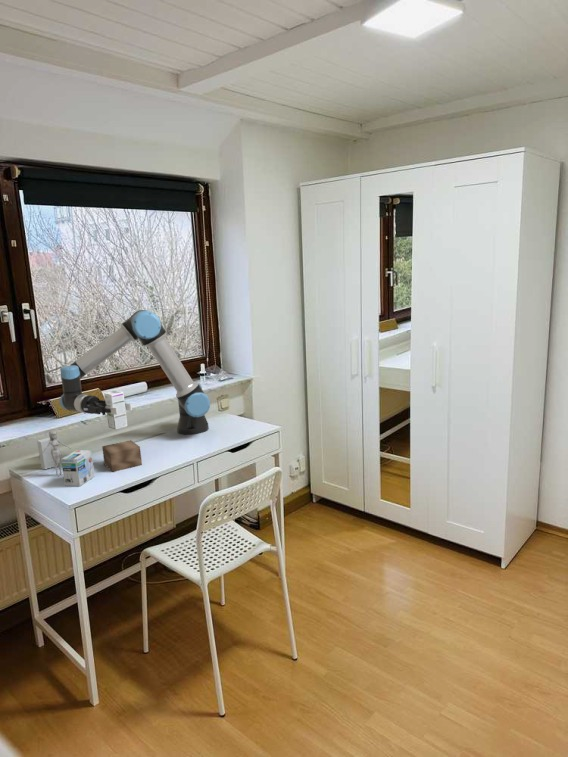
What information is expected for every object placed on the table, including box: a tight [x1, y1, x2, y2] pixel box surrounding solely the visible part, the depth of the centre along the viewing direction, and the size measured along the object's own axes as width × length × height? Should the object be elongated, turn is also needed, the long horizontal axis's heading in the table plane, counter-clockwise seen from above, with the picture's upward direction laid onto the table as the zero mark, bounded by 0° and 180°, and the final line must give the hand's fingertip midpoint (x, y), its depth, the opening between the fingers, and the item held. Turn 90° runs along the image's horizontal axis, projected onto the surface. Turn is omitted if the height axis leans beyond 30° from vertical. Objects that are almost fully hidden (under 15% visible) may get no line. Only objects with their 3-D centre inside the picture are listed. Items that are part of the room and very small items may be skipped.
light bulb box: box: [60, 449, 96, 487], centre depth 214 cm, size 11×7×11 cm, turn 168°
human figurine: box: [39, 430, 72, 477], centre depth 222 cm, size 12×4×18 cm, turn 131°
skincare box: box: [36, 436, 59, 470], centre depth 233 cm, size 6×4×12 cm
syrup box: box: [104, 390, 128, 430], centre depth 227 cm, size 6×6×14 cm
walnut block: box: [101, 439, 143, 473], centre depth 230 cm, size 12×12×8 cm
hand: (124, 409), depth 224 cm, fingers closed on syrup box, 6 cm apart
